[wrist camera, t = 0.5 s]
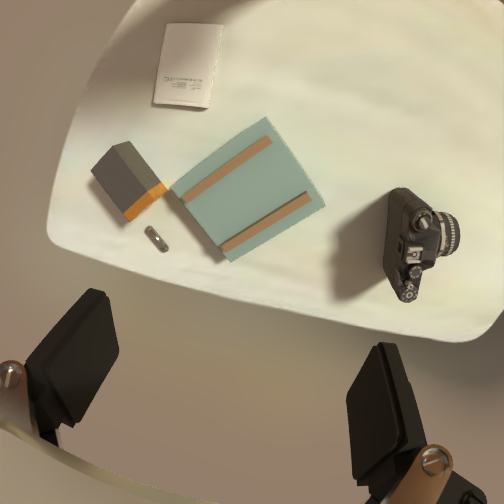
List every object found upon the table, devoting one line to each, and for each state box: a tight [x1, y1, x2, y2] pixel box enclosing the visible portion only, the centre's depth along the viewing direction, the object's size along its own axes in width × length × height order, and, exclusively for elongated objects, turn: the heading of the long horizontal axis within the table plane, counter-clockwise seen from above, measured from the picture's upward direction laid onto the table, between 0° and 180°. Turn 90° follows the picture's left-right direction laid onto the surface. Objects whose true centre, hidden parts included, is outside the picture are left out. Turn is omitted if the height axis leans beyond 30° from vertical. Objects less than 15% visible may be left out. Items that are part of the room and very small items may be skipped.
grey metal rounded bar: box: [146, 226, 169, 252], centre depth 47 cm, size 5×1×1 cm, turn 36°
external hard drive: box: [153, 23, 224, 108], centre depth 34 cm, size 2×8×12 cm
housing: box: [91, 141, 168, 222], centre depth 41 cm, size 10×6×5 cm, turn 36°
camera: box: [383, 188, 460, 303], centre depth 37 cm, size 14×11×10 cm
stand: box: [171, 117, 325, 263], centre depth 40 cm, size 14×16×4 cm
